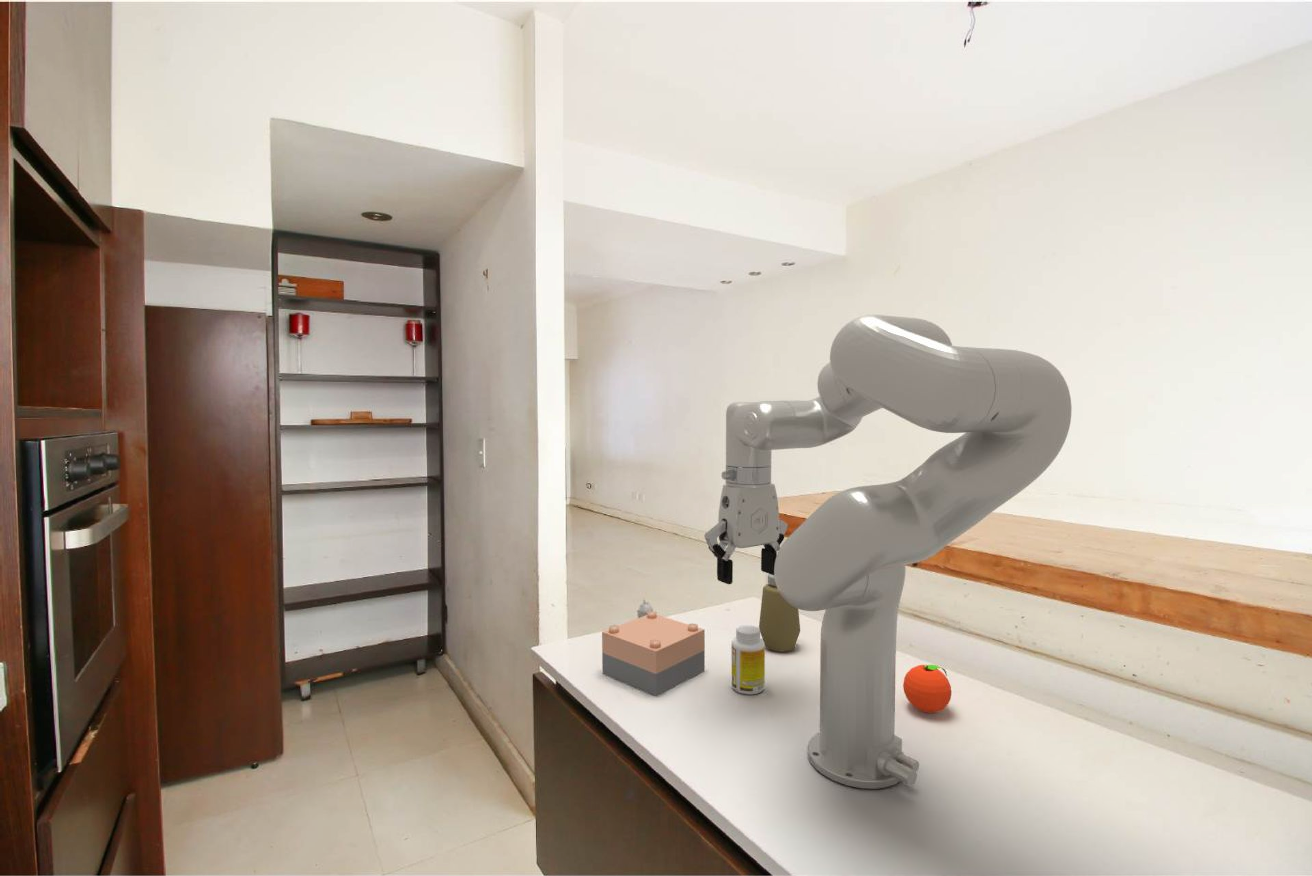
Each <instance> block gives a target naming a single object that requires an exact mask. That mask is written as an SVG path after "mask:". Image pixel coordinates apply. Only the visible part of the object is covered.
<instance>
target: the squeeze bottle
mask: <svg viewBox="0 0 1312 876" xmlns="http://www.w3.org/2000/svg"><path fill="white" fill-rule="evenodd" d="M759 613H760V614H759V621H758V622H759V623H758V628H759V629H760V637H761V639H762V640H763V641H764V644H765V648H767V649H768V650H770V651H774V652H790V651H792V650H794V649H795V647H796V643H797V642H798V638H799V636H800V633H801V622H800V614H799V609H798V608H796V607H794V606H792V605H791V604H789V603H788V602H787V601H786V600H785V599H784V598H783V597H782V595H781V594H780V592H779V590H778V588H777V586H776V583H775V577H774V575H771V574H768V573H767V583H766V584H765V585H764V586H763V587H762V594H761V604H760V612H759Z"/></svg>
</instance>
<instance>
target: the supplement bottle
mask: <svg viewBox="0 0 1312 876" xmlns="http://www.w3.org/2000/svg"><path fill="white" fill-rule="evenodd" d="M735 631H736V632H735V633H736V634H735V635H736V637H734V638H733V639H732V640H731V688H732V689H733V690H734V691H736V692H737V693H740V694H743V695H748V696H749V695H757V694H760V693H762V692H763V690H765V684H766V681H765V680H766V679H765V678H766V676H765V674H766V673H765V672H766V671H765V670H766V667H765V666H766V664H765V663H766V662H765V660H766V657H765V655H766V654H765V653H766V649H765V648H766V647H765V644H764V641H763V639H762V638H761V633H760V629H759V626H758V627H757V626H755V625H752V624H751V625H750V624H746V625H744V624H742V625H739V626H737V627H736V629H735Z"/></svg>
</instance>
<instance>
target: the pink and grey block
mask: <svg viewBox="0 0 1312 876" xmlns="http://www.w3.org/2000/svg"><path fill="white" fill-rule="evenodd" d="M657 613H658V612H656V611H654V610H653V611H650V612H647V615H645V616H643V617H640V618H639V617H637V618H638V619H637V618H635V619H632V620H630V621H628V622H624V623H622V624H619V625H609V627H608V629H606V630H604V631H602V632H601V643H602V644H601V647H602V649H601V651H602V652H601V653H602V654H601V655H602V659H601V660H602V665H601V666H602V667H601V669H602V674H603V675H605V676H606V677H609V678H612V679H614V680H617V681H619V682H620V683H624V684H626V685H628V686H631V687H632V688H635V689H637V690H640V691H642V692H644V693H647V694H649V695H652V696H654V697H658V696H660V695H661V694H664V693H666V692H668V691H670V690H671V689H673V688H676V687H677V686H679V685H680V684H681V685H682V684H683V683H684V682H687V681H688V680H690V679H692V678H694V677H696V676H697V675H699V674H700V675H701V673H703V672H705V657H706V656H705V652H706V651H705V650H706V646H705V629H704V628H700V627H699V625H698V624H697V623H689V624H688V623H685V622H681V621H679V620H674V619H671V618H668V617H665V616H663V615H658V614H657Z"/></svg>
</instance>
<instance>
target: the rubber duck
mask: <svg viewBox="0 0 1312 876" xmlns="http://www.w3.org/2000/svg"><path fill="white" fill-rule="evenodd" d="M639 605H640V606H639V608H638V609H637V611H636V612H637V615H636V616H637V618H636V619H638V618H640V617H643V616H645V615H647V612H650V611H654V608H653V606H652V604H651V603H649V601H647V602H646V600H645V598H643V603H641V604H639Z"/></svg>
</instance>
